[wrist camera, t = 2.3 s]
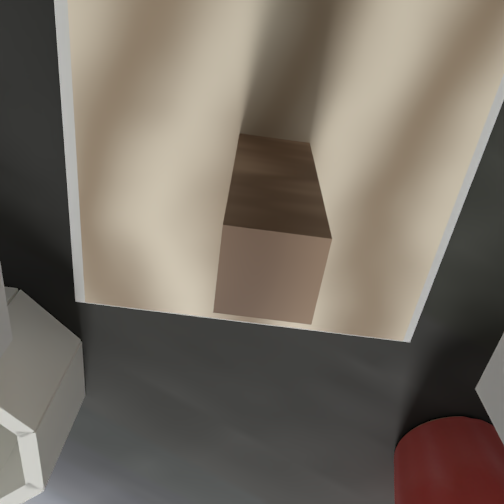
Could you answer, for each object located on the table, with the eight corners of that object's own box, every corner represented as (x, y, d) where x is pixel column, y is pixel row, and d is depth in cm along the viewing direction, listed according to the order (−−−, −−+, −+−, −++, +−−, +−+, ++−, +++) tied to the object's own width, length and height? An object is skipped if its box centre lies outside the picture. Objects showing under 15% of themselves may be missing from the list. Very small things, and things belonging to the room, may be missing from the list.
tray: (552, -46, 19) (559, -46, 19) (407, 335, 29) (409, 342, 29) (51, -123, 19) (45, -126, 18) (78, 295, 29) (75, 301, 28)
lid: (524, -21, 19) (737, -12, 11) (398, 327, 28) (456, 487, 20) (73, -89, 19) (-102, -142, 10) (92, 289, 28) (9, 438, 19)
